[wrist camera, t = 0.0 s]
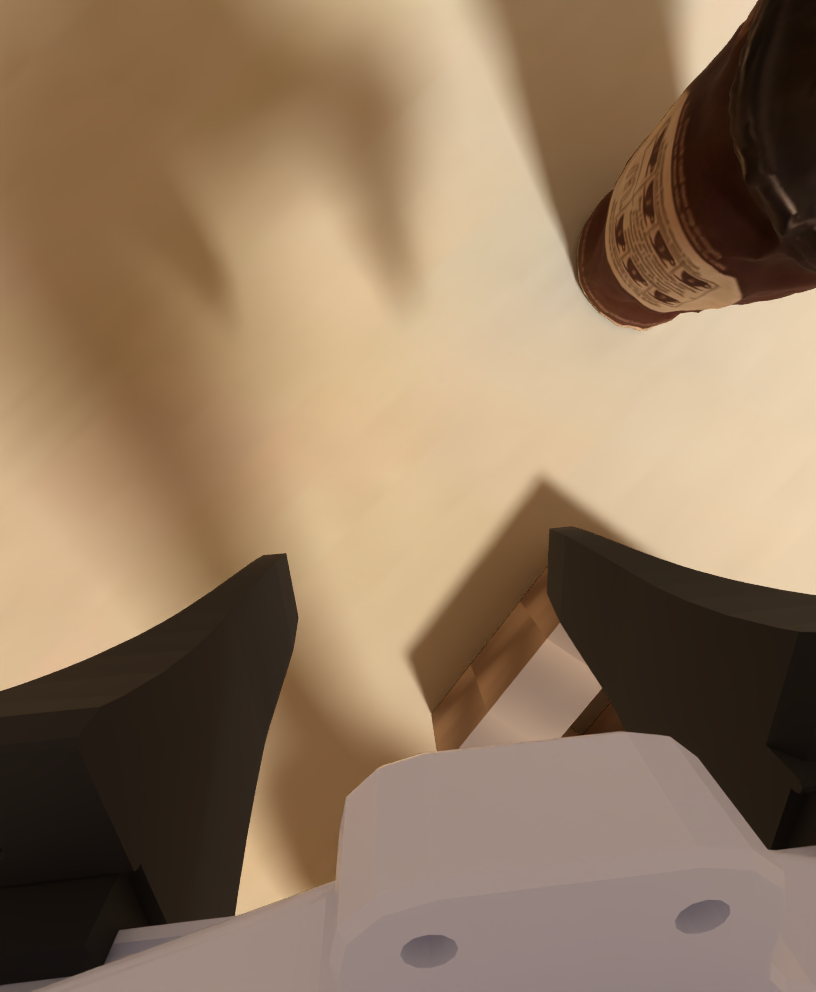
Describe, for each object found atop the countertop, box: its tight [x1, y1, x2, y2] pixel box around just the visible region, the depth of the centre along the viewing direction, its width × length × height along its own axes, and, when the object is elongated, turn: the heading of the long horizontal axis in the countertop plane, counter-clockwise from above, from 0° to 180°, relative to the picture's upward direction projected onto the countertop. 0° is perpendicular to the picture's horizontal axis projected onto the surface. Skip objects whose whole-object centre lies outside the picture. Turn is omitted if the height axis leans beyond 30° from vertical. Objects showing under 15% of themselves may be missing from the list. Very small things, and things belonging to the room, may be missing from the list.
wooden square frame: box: [431, 567, 626, 751], centre depth 23 cm, size 12×12×4 cm
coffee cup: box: [577, 0, 816, 331], centre depth 14 cm, size 9×8×13 cm
